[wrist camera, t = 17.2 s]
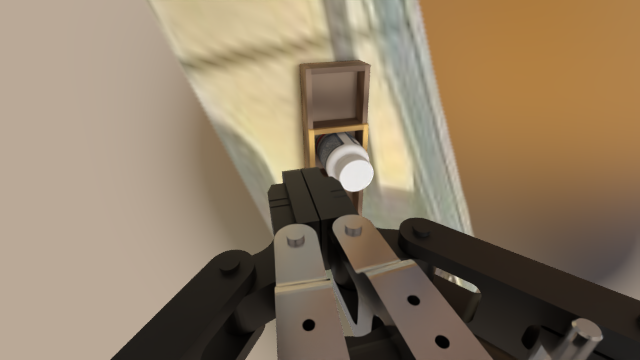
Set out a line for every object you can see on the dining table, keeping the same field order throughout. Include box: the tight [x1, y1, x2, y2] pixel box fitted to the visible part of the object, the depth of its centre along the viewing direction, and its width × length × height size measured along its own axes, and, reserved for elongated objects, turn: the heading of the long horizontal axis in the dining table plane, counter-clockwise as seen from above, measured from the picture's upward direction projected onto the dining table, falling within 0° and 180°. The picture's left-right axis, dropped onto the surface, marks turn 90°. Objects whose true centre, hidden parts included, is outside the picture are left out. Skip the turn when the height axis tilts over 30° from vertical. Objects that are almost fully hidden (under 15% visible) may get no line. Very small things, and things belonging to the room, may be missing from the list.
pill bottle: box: [315, 131, 373, 192], centre depth 37 cm, size 5×5×9 cm
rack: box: [300, 60, 370, 216], centre depth 40 cm, size 21×8×4 cm, turn 3°
